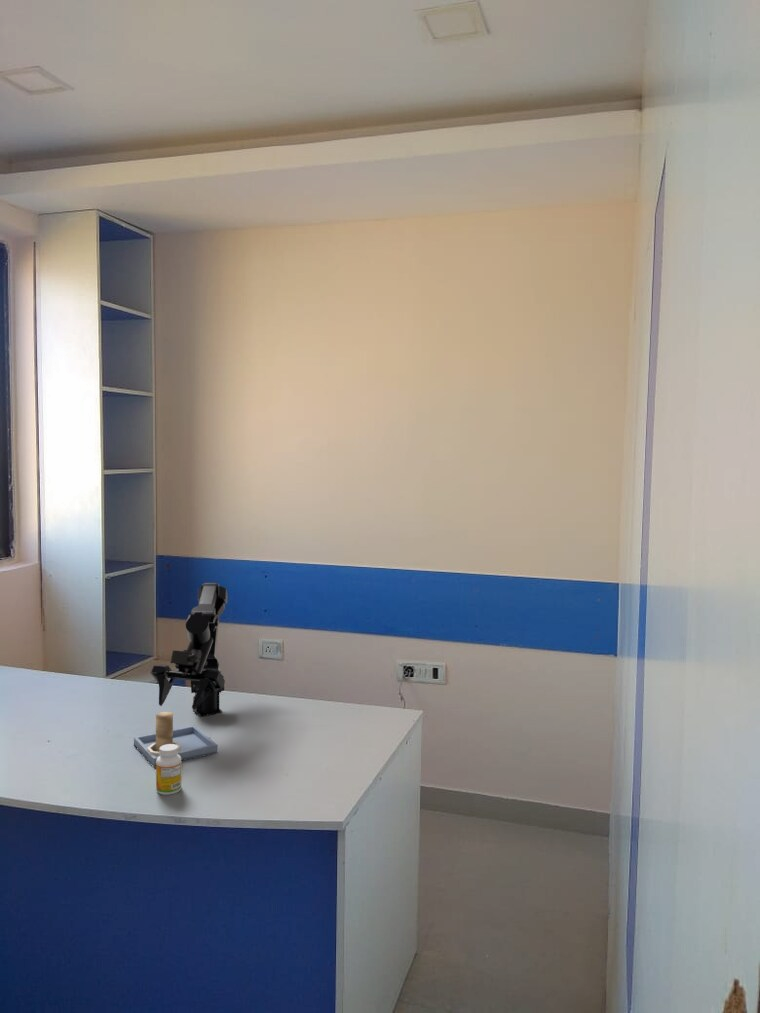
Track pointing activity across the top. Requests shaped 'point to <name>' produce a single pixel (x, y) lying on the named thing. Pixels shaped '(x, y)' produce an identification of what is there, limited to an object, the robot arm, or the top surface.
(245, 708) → the top surface
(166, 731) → the peg
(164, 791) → the supplement bottle
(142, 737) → the tray
